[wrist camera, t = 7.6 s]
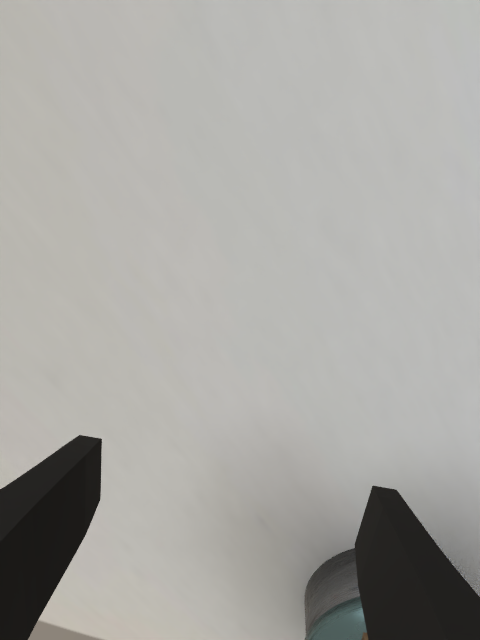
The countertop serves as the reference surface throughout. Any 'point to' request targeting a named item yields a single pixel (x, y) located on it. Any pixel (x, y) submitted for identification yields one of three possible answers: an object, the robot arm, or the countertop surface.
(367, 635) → the walnut cube
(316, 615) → the grey tin
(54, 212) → the countertop surface
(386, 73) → the countertop surface
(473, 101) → the countertop surface
